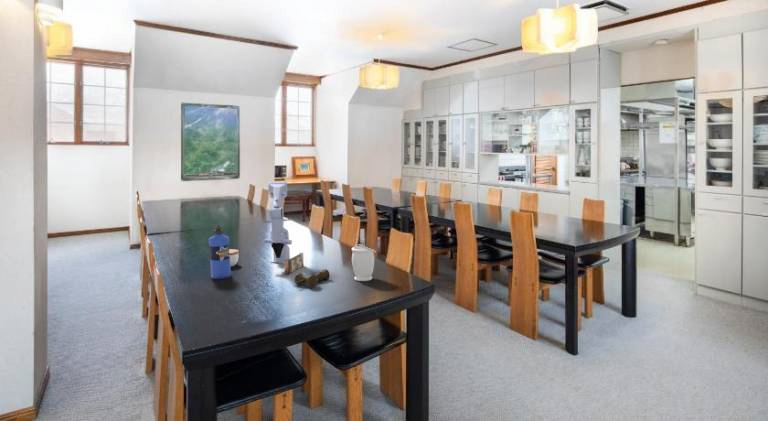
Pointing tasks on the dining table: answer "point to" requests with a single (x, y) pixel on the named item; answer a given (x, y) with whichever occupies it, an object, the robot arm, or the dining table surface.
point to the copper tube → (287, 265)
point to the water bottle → (219, 254)
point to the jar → (362, 263)
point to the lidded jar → (233, 256)
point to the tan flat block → (294, 263)
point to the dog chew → (312, 278)
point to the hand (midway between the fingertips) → (278, 257)
